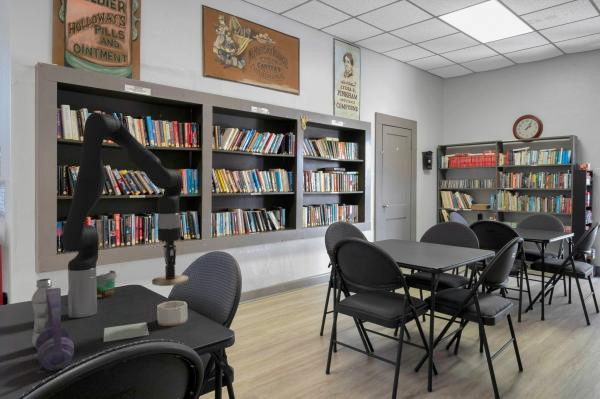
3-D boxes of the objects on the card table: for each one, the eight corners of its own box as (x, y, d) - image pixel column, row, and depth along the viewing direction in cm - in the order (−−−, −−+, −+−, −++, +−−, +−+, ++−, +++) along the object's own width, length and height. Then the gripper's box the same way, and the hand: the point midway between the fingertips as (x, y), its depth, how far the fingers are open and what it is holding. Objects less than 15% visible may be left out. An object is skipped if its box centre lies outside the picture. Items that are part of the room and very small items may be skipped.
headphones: (35, 355, 113) (32, 285, 112) (68, 348, 118) (66, 280, 117) (39, 380, 98) (36, 299, 97) (77, 370, 103) (75, 293, 102)
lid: (153, 287, 131) (152, 270, 131) (151, 280, 142) (150, 264, 142) (190, 283, 136) (190, 267, 136) (185, 276, 147) (185, 261, 146)
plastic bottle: (40, 343, 122) (38, 277, 121) (63, 342, 122) (61, 277, 122) (27, 351, 115) (25, 282, 115) (52, 350, 116) (50, 282, 115)
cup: (159, 328, 133) (158, 310, 133) (156, 319, 142) (156, 303, 142) (189, 324, 137) (189, 306, 137) (184, 315, 146) (184, 299, 146)
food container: (104, 300, 168) (104, 276, 168) (91, 299, 169) (91, 276, 169) (123, 292, 180) (122, 270, 180) (111, 292, 181) (110, 270, 181)
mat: (103, 343, 121) (103, 341, 121) (104, 329, 133) (104, 328, 133) (149, 335, 127) (149, 334, 127) (146, 323, 139) (146, 322, 138)
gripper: (156, 225, 143) (157, 273, 144) (159, 228, 130) (160, 281, 131) (177, 224, 146) (178, 271, 147) (183, 227, 133) (184, 279, 134)
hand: (170, 275), depth 139 cm, fingers closed on lid, 3 cm apart
